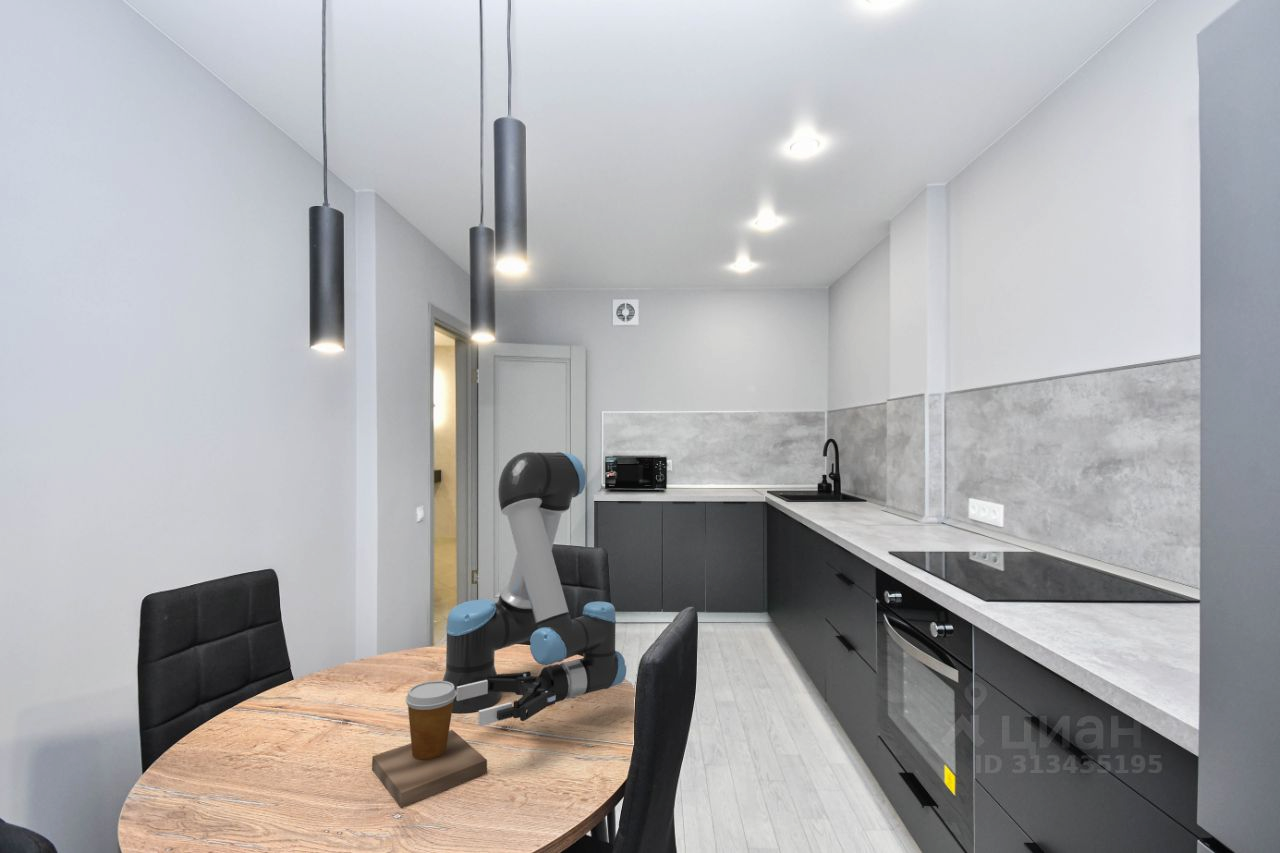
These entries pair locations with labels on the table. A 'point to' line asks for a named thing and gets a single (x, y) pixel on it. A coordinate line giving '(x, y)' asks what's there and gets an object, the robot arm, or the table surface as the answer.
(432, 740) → the disposable coffee cup
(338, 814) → the table surface
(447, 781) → the walnut board
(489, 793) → the table surface
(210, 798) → the table surface
